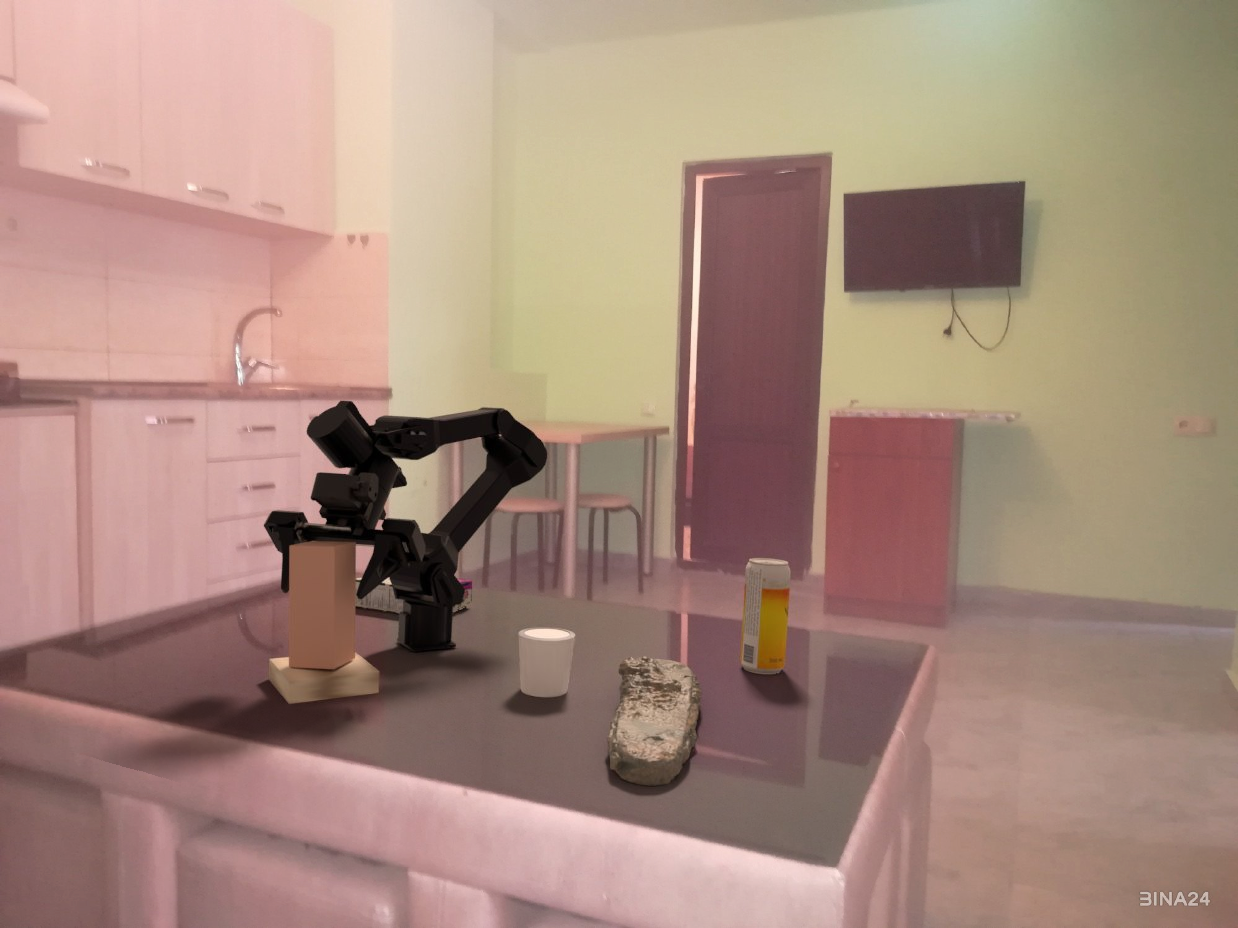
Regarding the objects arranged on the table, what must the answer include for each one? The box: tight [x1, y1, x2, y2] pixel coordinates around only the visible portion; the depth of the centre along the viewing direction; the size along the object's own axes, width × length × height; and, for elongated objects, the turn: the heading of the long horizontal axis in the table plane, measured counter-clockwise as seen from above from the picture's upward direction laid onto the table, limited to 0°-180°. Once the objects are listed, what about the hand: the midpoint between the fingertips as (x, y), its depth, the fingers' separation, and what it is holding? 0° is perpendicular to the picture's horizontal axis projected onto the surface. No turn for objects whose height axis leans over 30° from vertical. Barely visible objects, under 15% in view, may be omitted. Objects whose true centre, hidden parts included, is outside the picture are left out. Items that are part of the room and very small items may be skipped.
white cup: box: [518, 626, 576, 698], centre depth 107 cm, size 7×7×7 cm
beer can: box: [739, 557, 792, 675], centre depth 121 cm, size 6×6×15 cm
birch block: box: [268, 651, 380, 705], centre depth 104 cm, size 10×10×3 cm
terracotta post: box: [288, 541, 357, 669], centre depth 104 cm, size 6×6×14 cm
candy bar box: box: [355, 577, 473, 614], centre depth 148 cm, size 11×5×16 cm
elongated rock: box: [606, 655, 703, 787], centre depth 97 cm, size 35×5×10 cm
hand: (320, 594), depth 102 cm, fingers open, 9 cm apart
